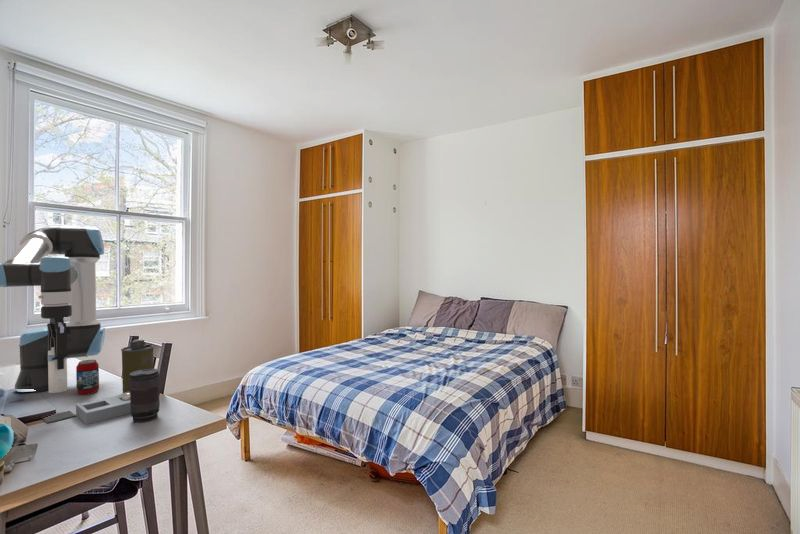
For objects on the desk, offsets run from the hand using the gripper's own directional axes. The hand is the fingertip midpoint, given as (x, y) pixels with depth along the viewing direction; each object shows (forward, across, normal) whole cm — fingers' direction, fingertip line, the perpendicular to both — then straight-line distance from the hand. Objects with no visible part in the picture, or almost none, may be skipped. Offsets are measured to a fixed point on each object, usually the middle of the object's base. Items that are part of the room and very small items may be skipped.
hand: (57, 377), depth 130 cm
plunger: (+12, +8, +17) cm, 22 cm away
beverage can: (+13, -23, +13) cm, 30 cm away
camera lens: (+13, +23, +17) cm, 31 cm away
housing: (+13, +8, +12) cm, 19 cm away
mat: (+13, 0, 0) cm, 13 cm away
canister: (+13, -7, +25) cm, 29 cm away
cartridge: (+4, 0, 0) cm, 4 cm away
